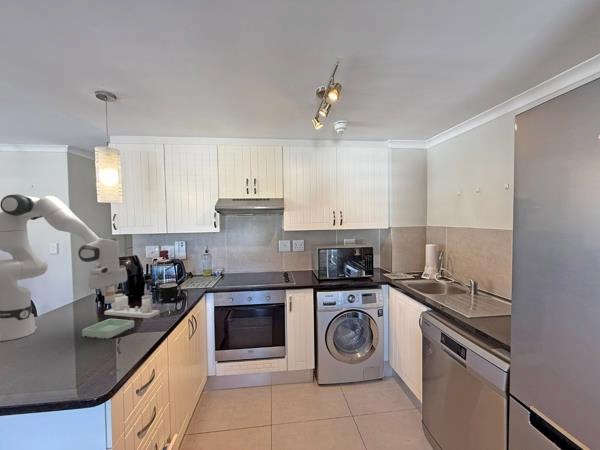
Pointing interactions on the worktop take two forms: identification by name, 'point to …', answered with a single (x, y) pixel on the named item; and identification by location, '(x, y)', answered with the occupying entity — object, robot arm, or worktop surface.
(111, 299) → the fuse marked
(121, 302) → the fuse left
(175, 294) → the mug
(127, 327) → the tray
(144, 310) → the fuse right
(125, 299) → the medicine bottle
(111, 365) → the worktop surface
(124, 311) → the holder
